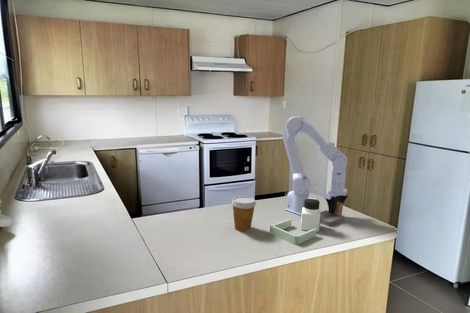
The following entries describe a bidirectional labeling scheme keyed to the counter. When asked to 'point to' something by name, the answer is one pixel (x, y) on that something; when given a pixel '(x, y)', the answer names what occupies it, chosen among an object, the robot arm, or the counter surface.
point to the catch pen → (278, 231)
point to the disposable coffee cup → (243, 212)
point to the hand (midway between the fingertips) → (335, 211)
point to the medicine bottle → (310, 215)
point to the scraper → (332, 216)
